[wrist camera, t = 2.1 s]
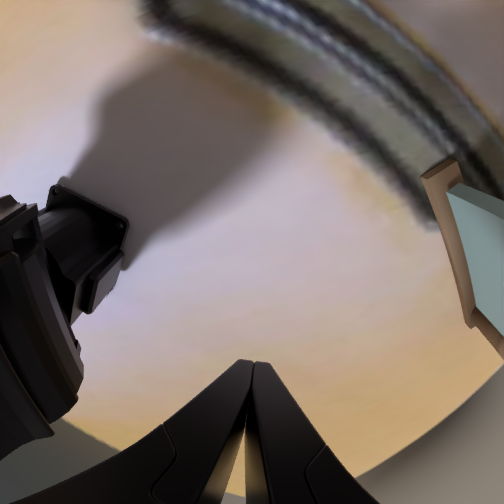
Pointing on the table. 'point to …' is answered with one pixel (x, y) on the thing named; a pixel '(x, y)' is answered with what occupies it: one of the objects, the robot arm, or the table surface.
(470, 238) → the panel
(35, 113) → the table surface
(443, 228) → the brown l-shaped piece
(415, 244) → the table surface
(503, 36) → the table surface
